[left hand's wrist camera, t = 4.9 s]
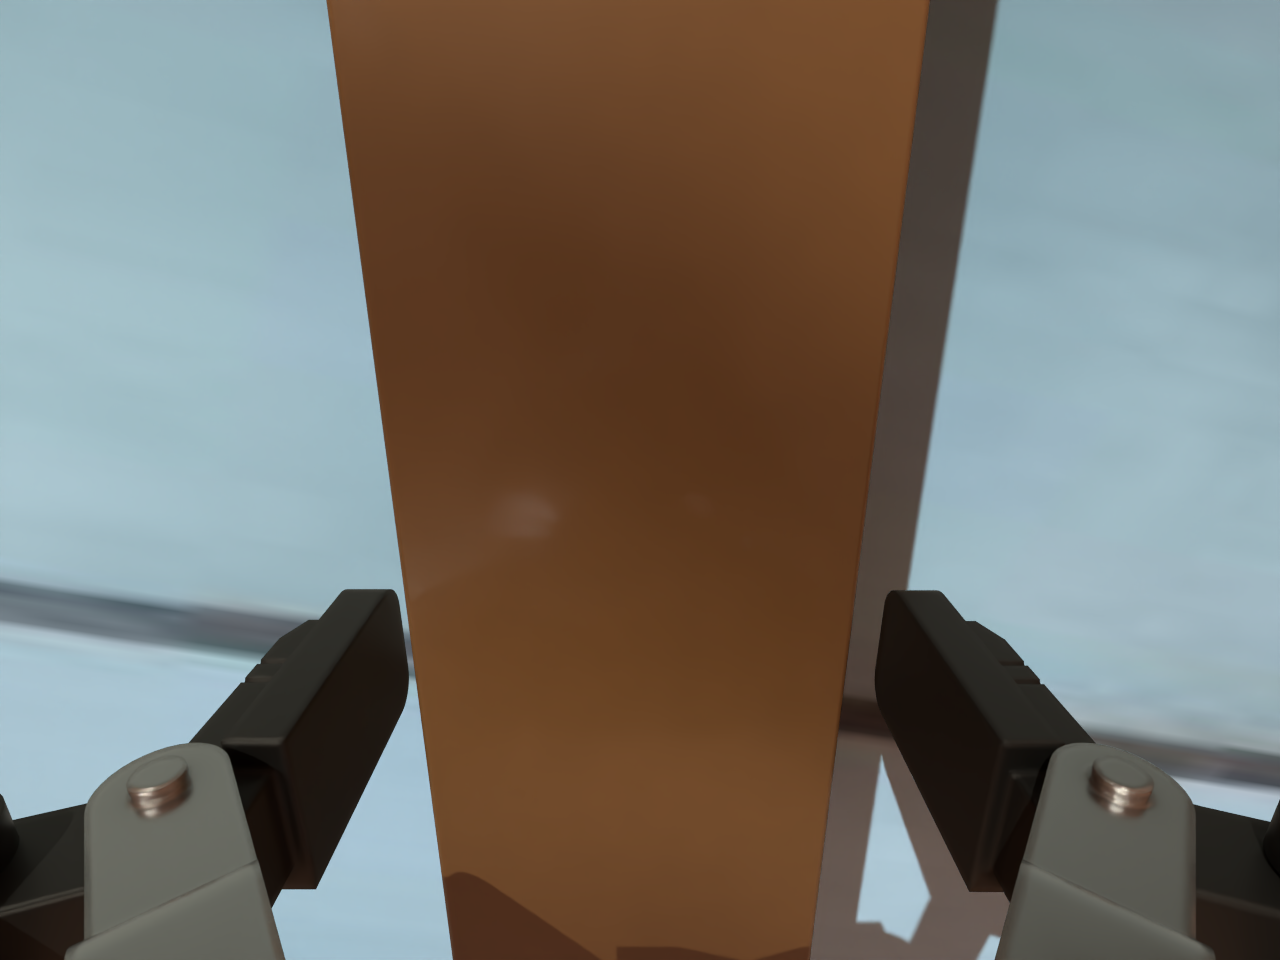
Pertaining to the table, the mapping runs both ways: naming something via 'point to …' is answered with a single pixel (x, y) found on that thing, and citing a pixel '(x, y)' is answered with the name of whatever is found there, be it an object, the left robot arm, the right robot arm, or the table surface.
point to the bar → (629, 438)
